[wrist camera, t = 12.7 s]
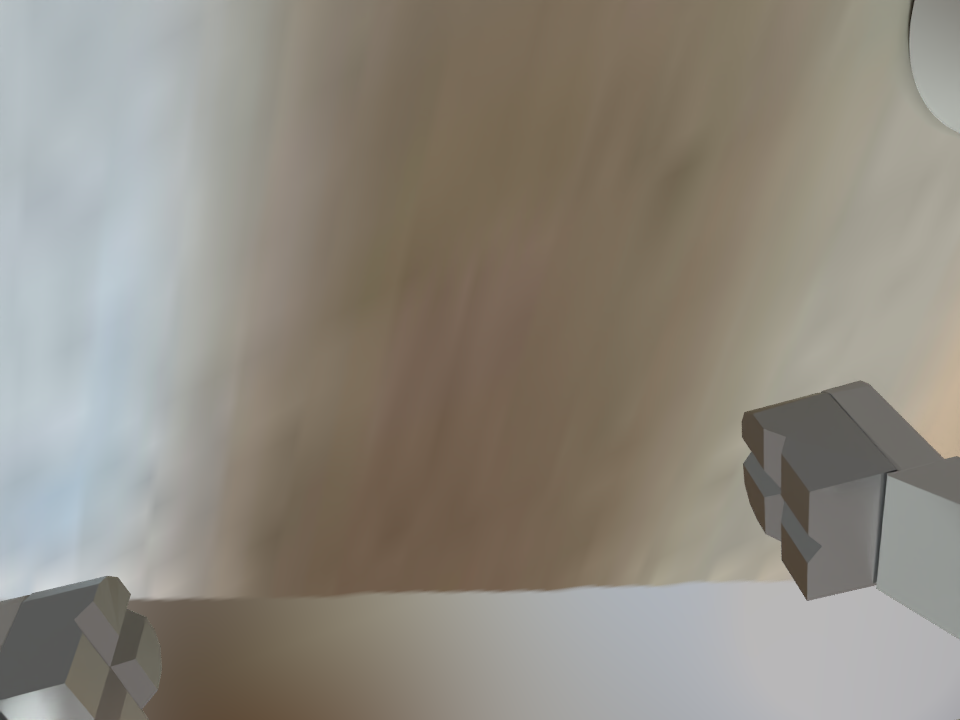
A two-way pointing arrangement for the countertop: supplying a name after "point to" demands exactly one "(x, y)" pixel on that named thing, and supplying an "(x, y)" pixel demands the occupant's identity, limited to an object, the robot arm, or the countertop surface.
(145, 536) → the countertop surface
